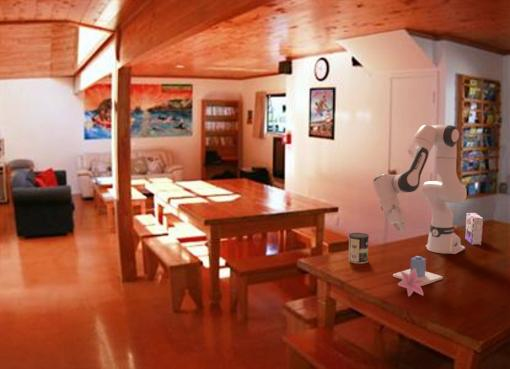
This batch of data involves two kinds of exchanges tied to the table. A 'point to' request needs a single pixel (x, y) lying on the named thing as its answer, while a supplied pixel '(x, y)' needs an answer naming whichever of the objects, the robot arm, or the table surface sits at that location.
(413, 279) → the lily
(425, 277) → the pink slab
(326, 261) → the table surface
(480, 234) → the candy box
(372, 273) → the table surface
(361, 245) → the coffee can
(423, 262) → the blue domed block
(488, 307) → the table surface
